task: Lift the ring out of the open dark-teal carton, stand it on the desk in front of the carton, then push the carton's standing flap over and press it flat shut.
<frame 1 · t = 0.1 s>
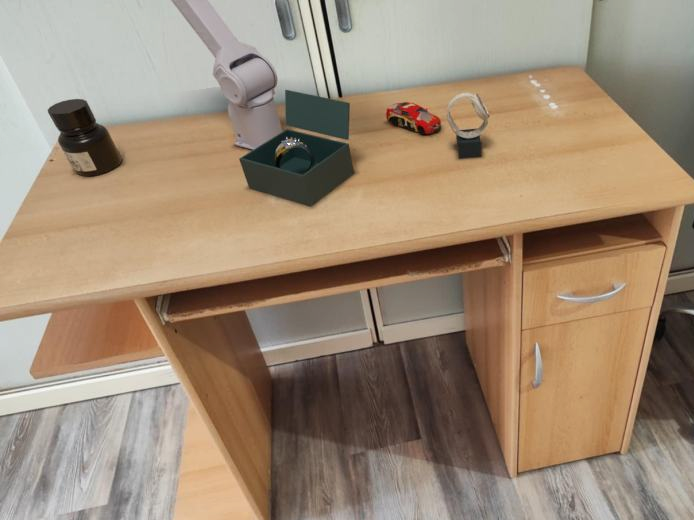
carton: (302, 180, 108), on the table
watch: (469, 151, 113), on the table
ring: (300, 180, 107), resting on carton
race car: (414, 126, 122), on the table
flap: (316, 114, 105), point 10 cm above the table, hinge at 110.0°
ink bottle: (99, 166, 116), on the table
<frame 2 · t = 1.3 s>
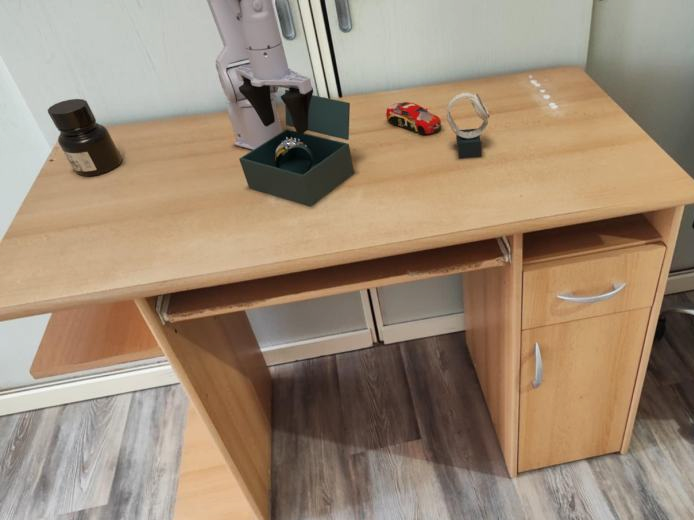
hand: (286, 127, 100), 10 cm above the table, tool pointing down, fingers open, 7 cm apart
nothing on the table moved.
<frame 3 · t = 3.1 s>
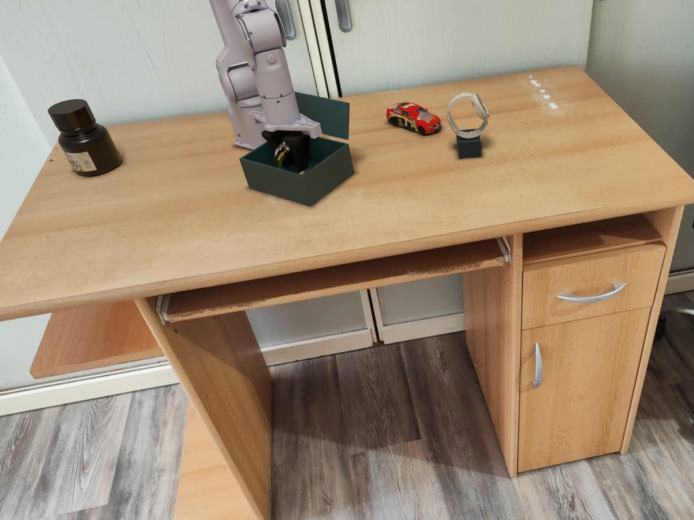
hand: (296, 167, 105), 3 cm above the table, tool pointing down, fingers closed on ring, 3 cm apart
ring: (298, 180, 107), resting on carton, touching gripper
everything else where it was.
when the fingers open (3 cm above the table, at t = 7.5 s): ring stays where it is, on the table.
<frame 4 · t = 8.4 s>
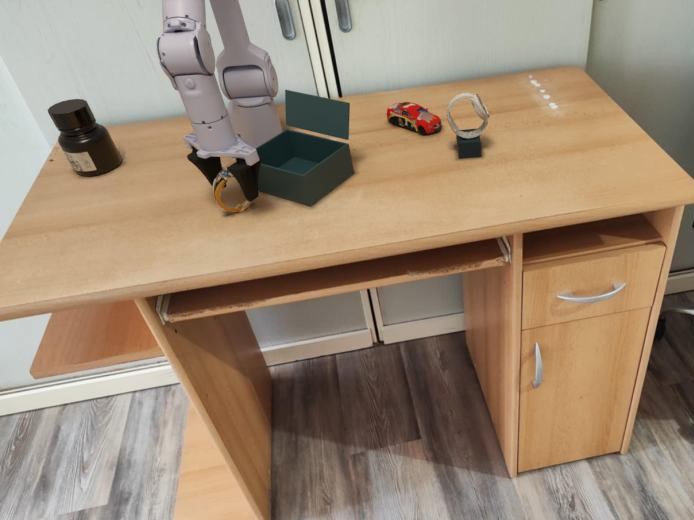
hand: (237, 193, 99), 3 cm above the table, tool pointing down, fingers open, 7 cm apart
ring: (241, 211, 102), on the table
everything else where it was.
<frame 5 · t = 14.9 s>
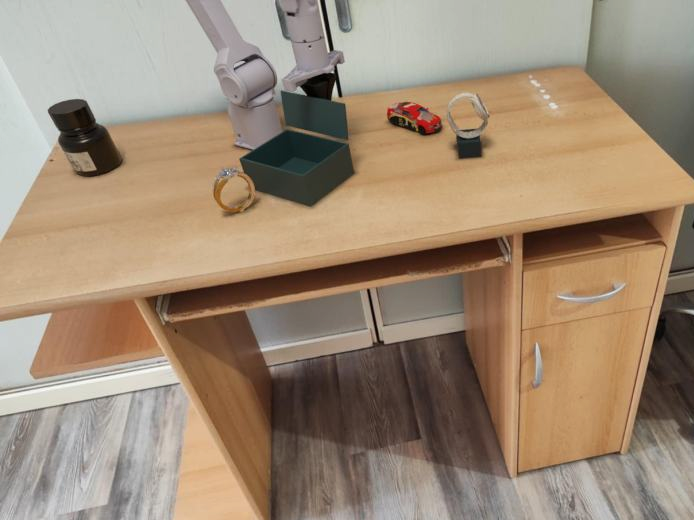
hand: (324, 116, 107), 8 cm above the table, tool pointing down, fingers closed
flap: (314, 115, 105), point 10 cm above the table, hinge at 98.6°, touching gripper
everything else where it was.
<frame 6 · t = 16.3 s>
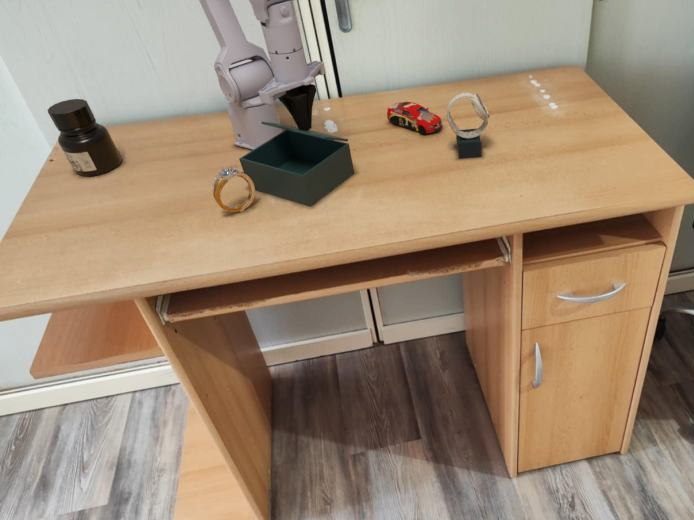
hand: (305, 128, 104), 8 cm above the table, tool pointing down, fingers closed
flap: (304, 131, 104), point 8 cm above the table, hinge at 27.7°, touching gripper
everything else where it was.
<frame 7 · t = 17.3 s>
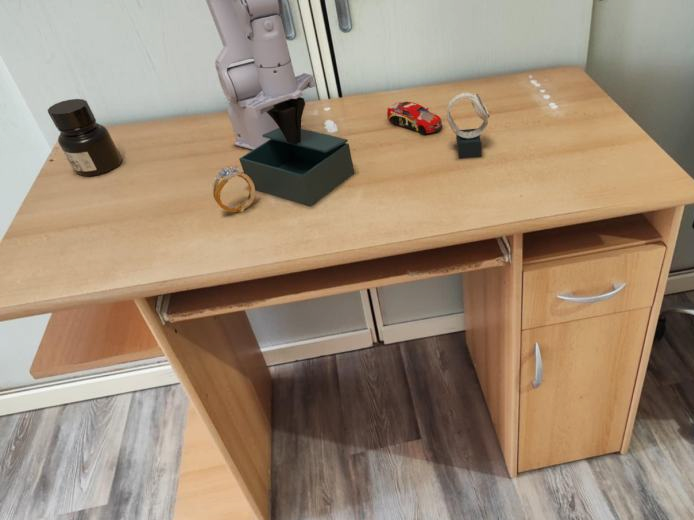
hand: (294, 141, 103), 7 cm above the table, tool pointing down, fingers closed, pressing on flap
flap: (304, 138, 105), point 7 cm above the table, hinge at 6.7°, touching gripper
everything else where it was.
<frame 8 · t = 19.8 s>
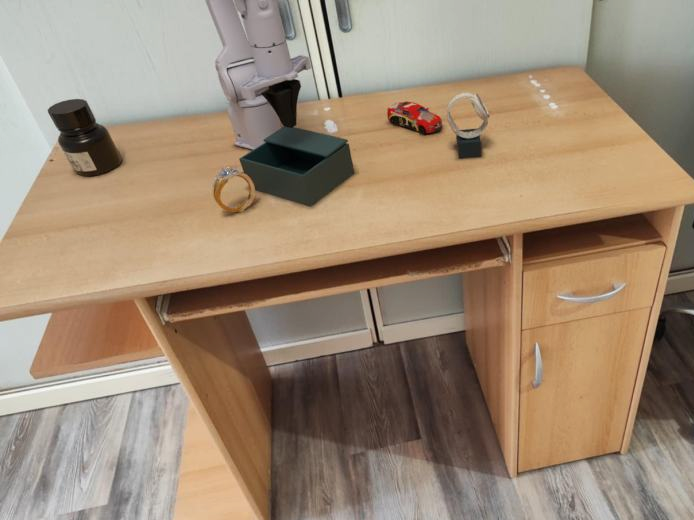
hand: (289, 125, 101), 10 cm above the table, tool pointing down, fingers closed
flap: (305, 140, 105), point 6 cm above the table, hinge at -1.3°
everything else where it was.
at the end: ring inside the target area (0.3 cm from its centre), on the table; the gripper is holding nothing; flap at -1° (first picture: +110°) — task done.
